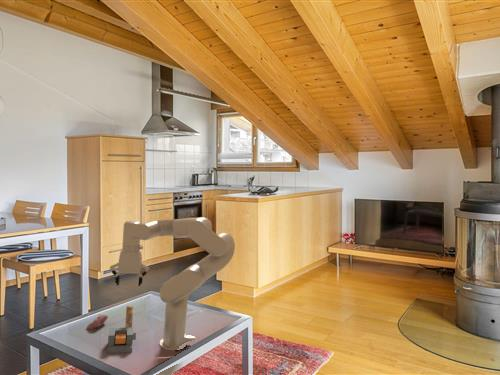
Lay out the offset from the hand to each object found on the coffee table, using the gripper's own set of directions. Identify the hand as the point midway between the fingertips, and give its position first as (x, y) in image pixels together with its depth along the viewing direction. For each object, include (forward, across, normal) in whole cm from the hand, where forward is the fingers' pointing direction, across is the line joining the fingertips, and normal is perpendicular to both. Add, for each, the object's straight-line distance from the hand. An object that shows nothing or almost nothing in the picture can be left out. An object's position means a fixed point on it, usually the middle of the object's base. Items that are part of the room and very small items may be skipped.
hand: (128, 285), depth 180 cm
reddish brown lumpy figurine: (+24, +14, -10) cm, 30 cm away
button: (+21, +1, +12) cm, 24 cm away
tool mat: (+24, -1, +1) cm, 24 cm away
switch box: (+24, +1, +12) cm, 27 cm away
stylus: (+24, -1, +1) cm, 24 cm away
